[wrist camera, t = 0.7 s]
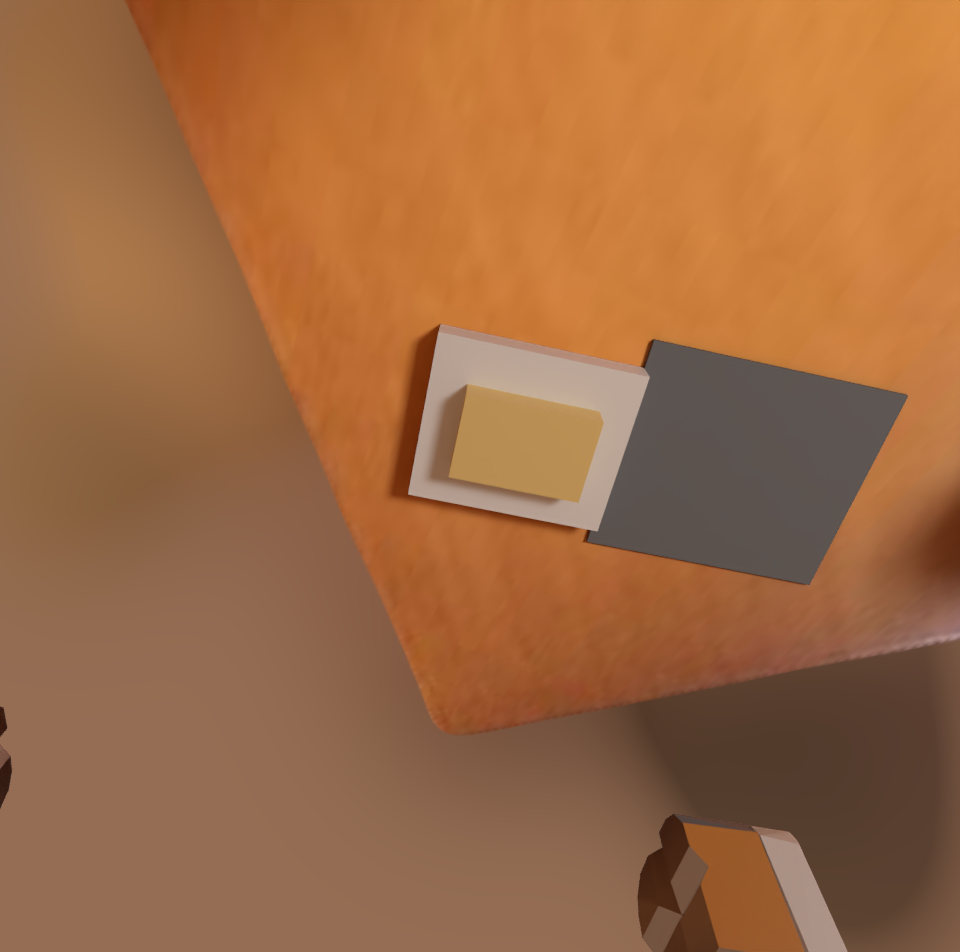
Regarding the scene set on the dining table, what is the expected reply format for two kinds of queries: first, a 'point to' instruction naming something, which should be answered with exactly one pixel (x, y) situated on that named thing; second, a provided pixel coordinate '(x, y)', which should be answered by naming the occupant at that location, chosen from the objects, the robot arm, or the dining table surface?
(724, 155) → the dining table surface
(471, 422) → the yellow rectangular block
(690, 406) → the mat
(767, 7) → the dining table surface
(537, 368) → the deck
